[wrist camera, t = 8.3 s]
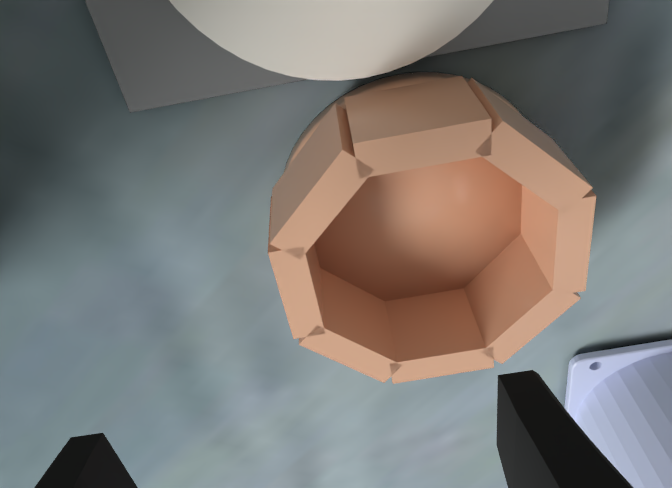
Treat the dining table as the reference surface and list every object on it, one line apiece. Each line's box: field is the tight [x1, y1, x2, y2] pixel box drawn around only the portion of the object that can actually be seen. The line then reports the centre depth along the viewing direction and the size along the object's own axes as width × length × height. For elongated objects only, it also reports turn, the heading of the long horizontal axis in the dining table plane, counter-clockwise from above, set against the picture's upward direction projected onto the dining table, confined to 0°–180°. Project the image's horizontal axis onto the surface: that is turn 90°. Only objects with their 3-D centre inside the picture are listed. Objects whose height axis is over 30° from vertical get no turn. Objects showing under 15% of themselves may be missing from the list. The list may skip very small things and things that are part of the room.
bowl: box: [268, 72, 596, 384], centre depth 18 cm, size 9×9×4 cm
